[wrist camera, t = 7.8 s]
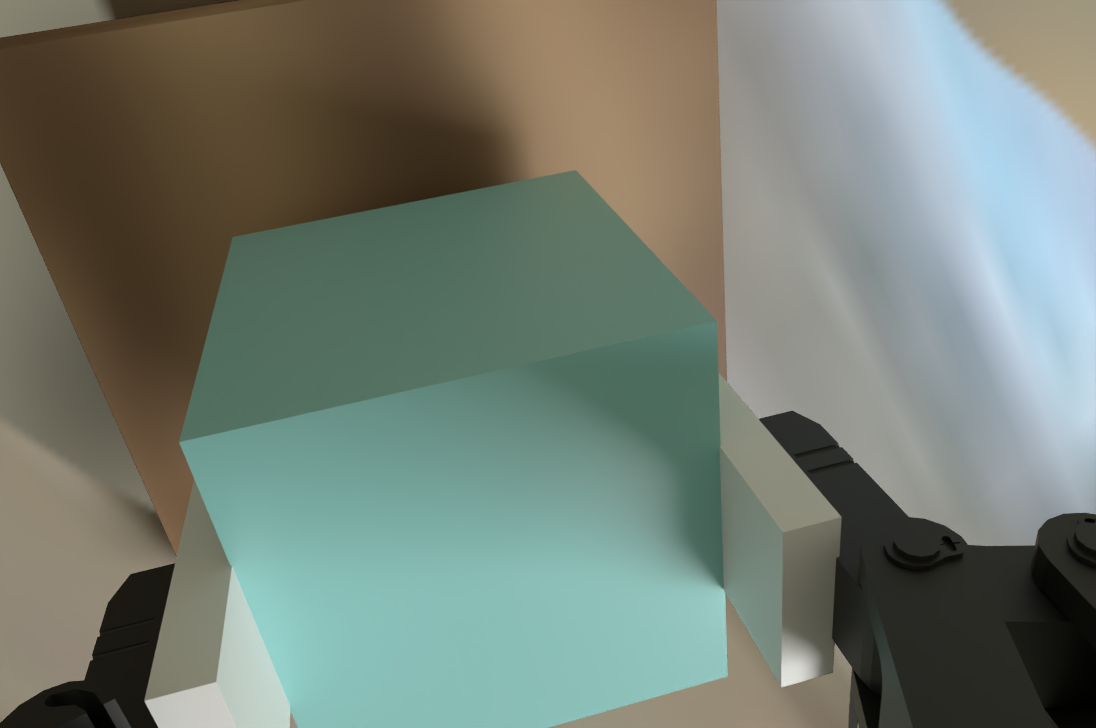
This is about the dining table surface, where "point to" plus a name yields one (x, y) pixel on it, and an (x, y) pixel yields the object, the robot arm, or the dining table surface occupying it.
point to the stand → (333, 153)
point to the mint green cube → (466, 461)
